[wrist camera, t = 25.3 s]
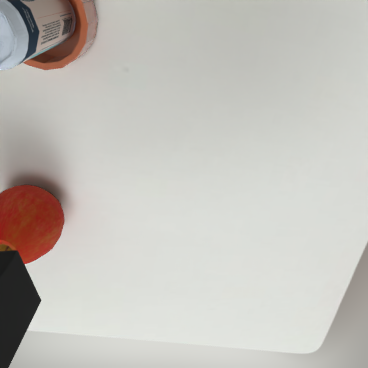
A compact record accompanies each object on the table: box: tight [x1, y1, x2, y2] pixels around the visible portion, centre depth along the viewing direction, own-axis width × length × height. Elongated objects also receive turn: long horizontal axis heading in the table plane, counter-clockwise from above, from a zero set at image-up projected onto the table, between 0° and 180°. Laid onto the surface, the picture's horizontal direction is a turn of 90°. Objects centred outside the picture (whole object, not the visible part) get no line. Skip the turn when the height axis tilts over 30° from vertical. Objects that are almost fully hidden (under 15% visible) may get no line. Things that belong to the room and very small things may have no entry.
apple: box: [0, 185, 64, 264], centre depth 39 cm, size 8×8×11 cm
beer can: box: [0, 0, 76, 70], centre depth 27 cm, size 5×5×12 cm
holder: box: [24, 0, 97, 70], centre depth 31 cm, size 8×8×4 cm
